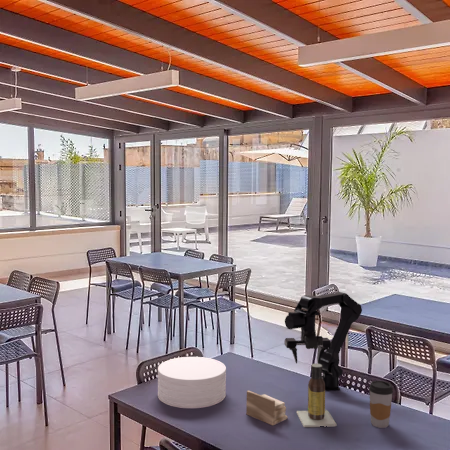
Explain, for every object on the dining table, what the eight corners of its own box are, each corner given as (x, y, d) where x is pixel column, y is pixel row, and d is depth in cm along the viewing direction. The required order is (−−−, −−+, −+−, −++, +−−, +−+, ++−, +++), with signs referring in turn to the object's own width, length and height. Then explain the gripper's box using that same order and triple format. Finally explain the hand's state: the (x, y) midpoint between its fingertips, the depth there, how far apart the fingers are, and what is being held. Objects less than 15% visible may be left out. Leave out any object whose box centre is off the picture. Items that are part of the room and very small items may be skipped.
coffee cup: (392, 421, 195) (393, 381, 194) (391, 431, 187) (392, 390, 186) (368, 417, 198) (370, 378, 197) (367, 427, 190) (368, 386, 189)
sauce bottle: (314, 412, 200) (315, 360, 199) (328, 417, 196) (329, 364, 195) (304, 417, 196) (305, 364, 194) (318, 422, 191) (319, 368, 190)
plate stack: (185, 415, 199) (185, 385, 198) (144, 392, 220) (144, 365, 219) (239, 396, 217) (239, 369, 216) (197, 377, 238) (197, 352, 237)
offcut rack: (261, 407, 206) (262, 385, 205) (287, 418, 196) (288, 394, 196) (246, 414, 199) (246, 391, 199) (272, 425, 190) (273, 401, 190)
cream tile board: (327, 412, 202) (327, 410, 202) (336, 426, 190) (336, 424, 190) (296, 413, 201) (296, 410, 201) (303, 427, 189) (303, 425, 189)
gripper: (290, 331, 210) (289, 370, 211) (335, 331, 211) (334, 369, 212) (284, 324, 221) (283, 360, 222) (328, 324, 222) (327, 360, 223)
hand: (307, 363), depth 220 cm, fingers open, 9 cm apart
